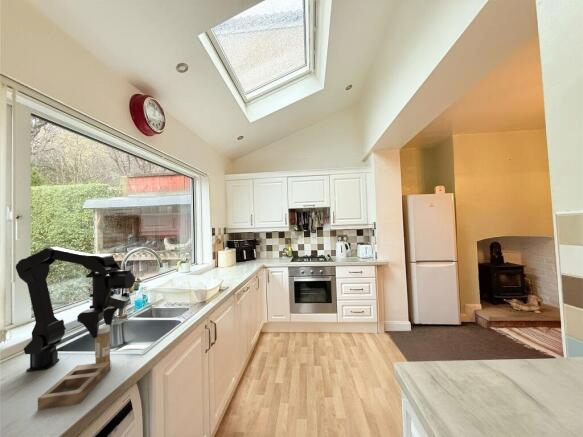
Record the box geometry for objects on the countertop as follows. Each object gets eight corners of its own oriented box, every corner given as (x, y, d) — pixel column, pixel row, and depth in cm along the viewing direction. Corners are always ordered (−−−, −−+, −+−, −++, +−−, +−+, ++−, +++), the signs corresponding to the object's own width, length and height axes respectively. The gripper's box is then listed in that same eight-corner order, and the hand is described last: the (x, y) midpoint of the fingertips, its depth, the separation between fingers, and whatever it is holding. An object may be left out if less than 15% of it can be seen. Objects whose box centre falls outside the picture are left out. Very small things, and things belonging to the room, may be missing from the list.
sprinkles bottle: (110, 364, 92) (109, 326, 92) (94, 368, 89) (94, 330, 90) (110, 359, 95) (110, 323, 96) (95, 363, 93) (95, 325, 93)
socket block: (37, 409, 69) (37, 398, 69) (77, 374, 86) (77, 365, 86) (79, 403, 71) (79, 392, 71) (110, 370, 88) (110, 361, 88)
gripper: (114, 294, 86) (114, 341, 85) (136, 282, 104) (137, 321, 103) (76, 296, 83) (76, 345, 83) (106, 284, 102) (106, 323, 101)
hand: (102, 332), depth 93 cm, fingers open, 9 cm apart
